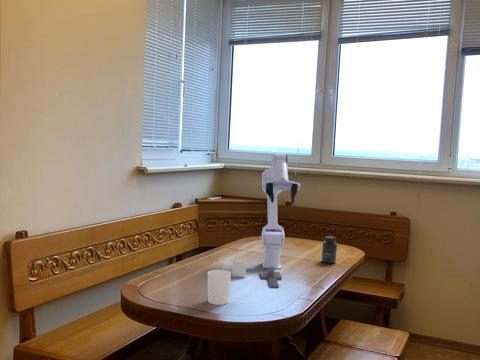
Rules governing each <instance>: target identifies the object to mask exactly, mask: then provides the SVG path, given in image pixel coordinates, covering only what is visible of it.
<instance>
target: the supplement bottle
mask: <svg viewBox="0 0 480 360" xmlns="http://www.w3.org/2000/svg"><path fill="white" fill-rule="evenodd" d="M321 247H322V248H321V259H320V260H321V263H323V262H324V264H327V263H334V264H336V262H337V255H338V253H337V250H338V244H337V242H336V236H331V235H328V236H325V237H324V242H322V245H321Z"/></svg>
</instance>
